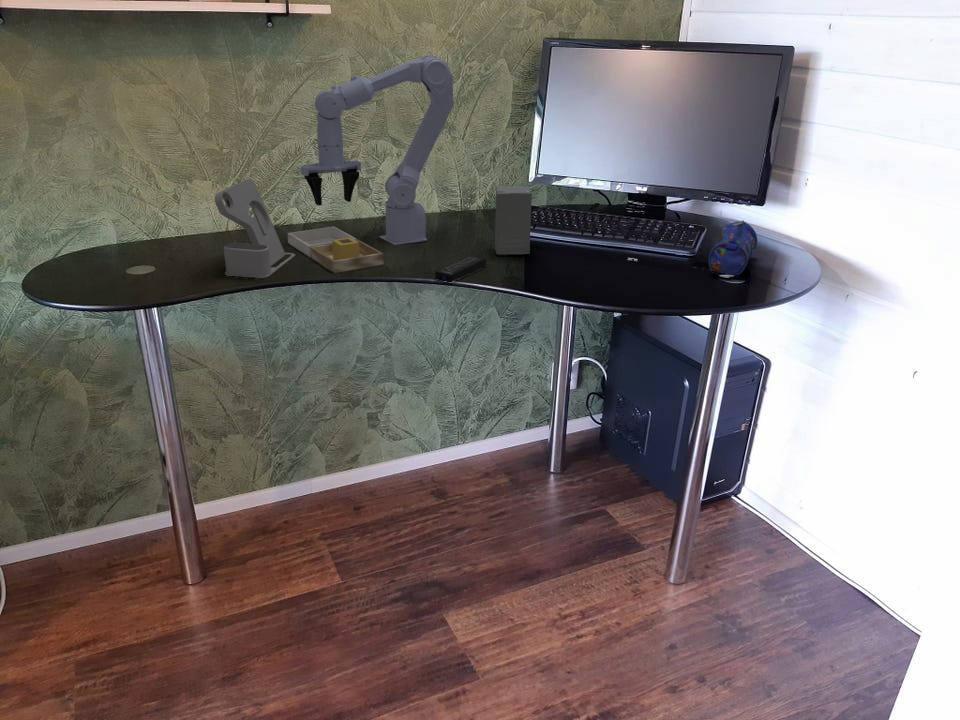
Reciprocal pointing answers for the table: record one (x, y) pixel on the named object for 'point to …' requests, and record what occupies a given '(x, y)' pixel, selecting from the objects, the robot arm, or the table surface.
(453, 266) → the multiport hub
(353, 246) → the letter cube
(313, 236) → the white tub
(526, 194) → the skincare box
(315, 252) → the birch box
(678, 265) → the table surface
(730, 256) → the pencil case
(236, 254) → the phone holder
